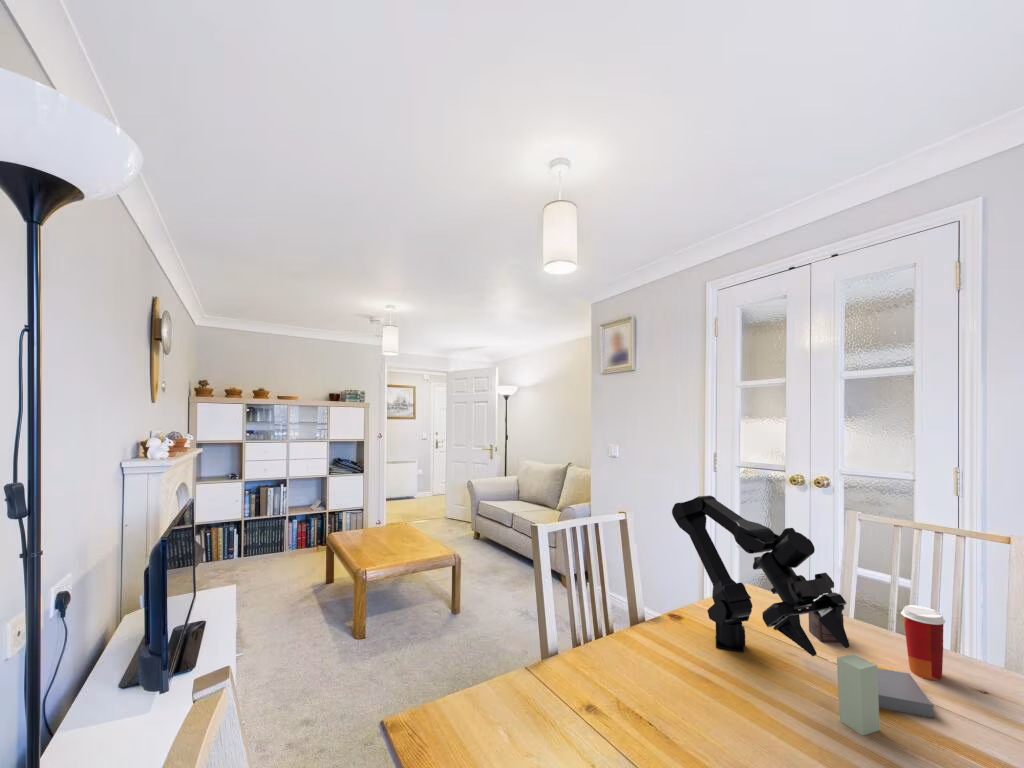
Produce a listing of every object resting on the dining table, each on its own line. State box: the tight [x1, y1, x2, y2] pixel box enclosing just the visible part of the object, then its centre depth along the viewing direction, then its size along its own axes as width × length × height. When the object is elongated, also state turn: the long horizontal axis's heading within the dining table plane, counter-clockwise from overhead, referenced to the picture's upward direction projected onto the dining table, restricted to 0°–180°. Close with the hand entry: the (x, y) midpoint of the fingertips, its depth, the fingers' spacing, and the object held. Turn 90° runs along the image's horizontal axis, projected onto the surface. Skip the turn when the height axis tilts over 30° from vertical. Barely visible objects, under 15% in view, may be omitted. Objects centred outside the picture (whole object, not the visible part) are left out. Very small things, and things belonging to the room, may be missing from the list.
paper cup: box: [900, 604, 946, 681], centre depth 110 cm, size 8×8×14 cm
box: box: [808, 607, 845, 643], centre depth 127 cm, size 6×6×7 cm
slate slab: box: [877, 667, 934, 718], centre depth 102 cm, size 12×12×2 cm
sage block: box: [836, 653, 881, 736], centre depth 92 cm, size 4×4×12 cm
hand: (831, 651), depth 97 cm, fingers open, 9 cm apart
